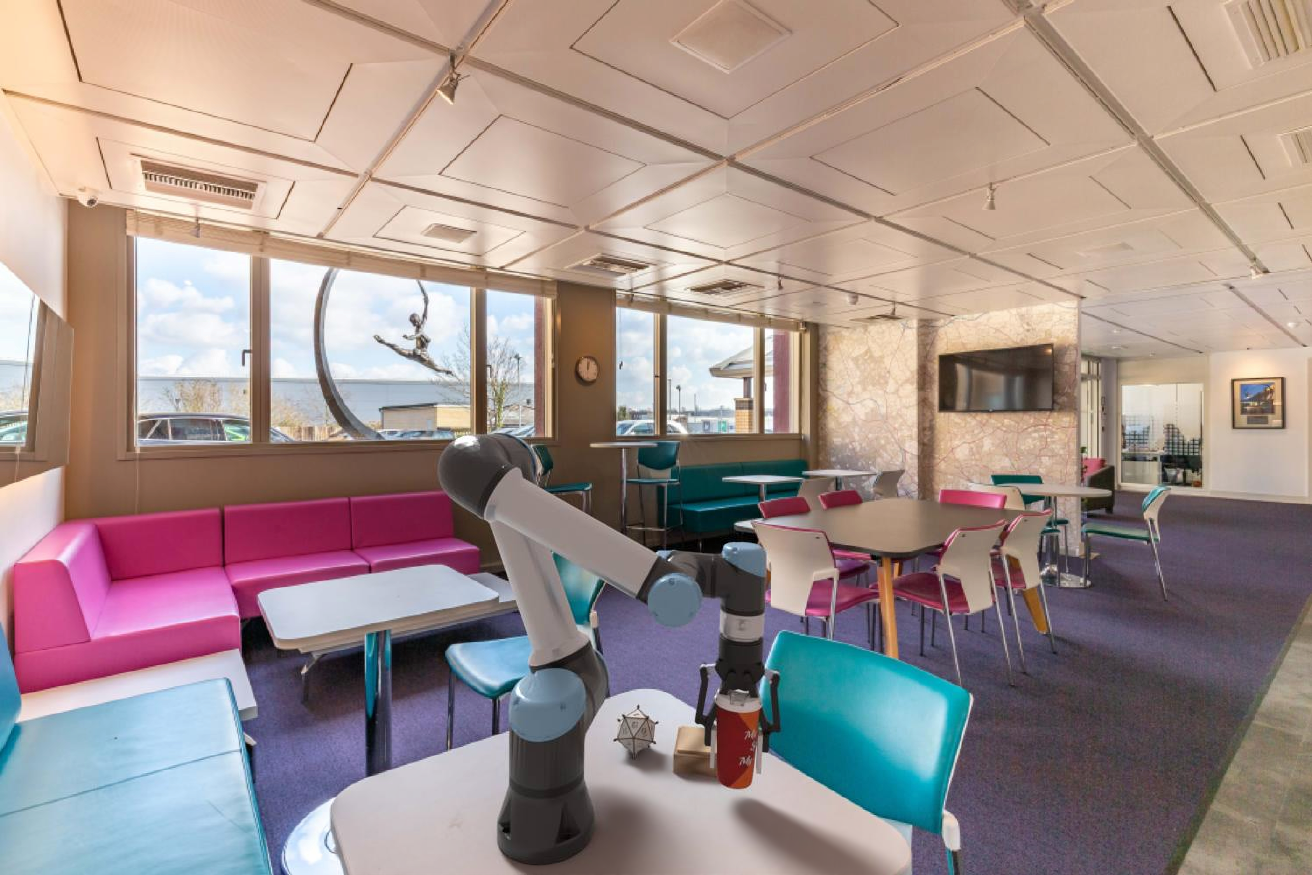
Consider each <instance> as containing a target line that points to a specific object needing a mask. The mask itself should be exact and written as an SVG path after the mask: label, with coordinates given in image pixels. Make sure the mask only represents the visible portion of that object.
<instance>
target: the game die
mask: <svg viewBox="0 0 1312 875" xmlns="http://www.w3.org/2000/svg"><path fill="white" fill-rule="evenodd" d="M621 717H622V719H620V718H617V719H616V721H617V722H618V723H619V725H618V730H617V735H616V738H613V740H612V742H617V741H618V743H620V744H621V745H622V746H623V747H624V748H625V749H627V750H628V751H629V752H630V753H631V754H632V758H633V760H635V759H636V755H637V754H638V753H639V752H641V751H642V750H644V749H645V748H647V749H651V745H652V744H653V745H657V742H656V741H655V740H654V738H655V730H656V725H658V724H659V723H660V721H658V720H657V721H654V720H653V719H652V718H650V716H649V715H647V714H645V713H644V712H643V711H642V710H641V709H640V704H639V703H638V704H637V706H636V709H635V710H633V711H631V712H630V713H629V714H627V715H626V714H625V713H624V714H621Z"/></svg>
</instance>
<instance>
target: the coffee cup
mask: <svg viewBox="0 0 1312 875" xmlns="http://www.w3.org/2000/svg"><path fill="white" fill-rule="evenodd" d="M716 698H717V700H716ZM713 701H715V703H716V704H717V717H716V719H715V720H716V722H715V723H716V731H717V776H716V777H717V781H718V782H719V783H720V784H721V785H722V786H724V787H726V788H728V789H732V790H744V789H747V788H749V787H750V786H751V785H752V784H753V777H754V771H755V770H754V769H755V764H756V761H755V760H756V755H757V735H758V728H759V725H760V723H759V720H758V719H759V710H760V708H761V707H762V705H763V704H764V702H763V700H762V698H761V694H760V692H759V691H758V698H751V697H750V694H749V691H748V692H746V691H742V690H730V689H729V692H728V694H727V695H723V694H719V688H718V689H717V691H716V694H715V695H714V697H713ZM760 703H761V705H760ZM763 706H764V705H763Z"/></svg>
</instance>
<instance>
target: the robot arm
mask: <svg viewBox="0 0 1312 875" xmlns="http://www.w3.org/2000/svg"><path fill="white" fill-rule="evenodd" d="M437 463H438V465H437V477H438V481H439V483H440V486H441V488H442V490H443V491H444V493H445V494H446V495H447V496H448V497H449V498H450V499H451V500H453V502H455V503H456V504H458V505H459V506H461V507H462V508H464V509H465V510H467V511H469V512H471V513H472V514H474V515H476V516H477V517H478V518H479V519H482V520H484V521H486V522H488V524H489V525H490V529H491V531H492V534H493V537H494V540H495V544H496V546H497V550H498V552H499V554H500V558H501V560H502V564H503V567H504V570H505V572H506V575H507V579H508V581H509V585H510V587H511V590H512V593H513V597H514V599H515V602H516V606H517V608H518V611H519V613H520V616H521V619H522V622H523V625H524V627H525V630H526V634H527V636H528V640H529V642H530V645H531V653H530V655H529V657H528V660H527V665H528V667H529V670H530V673H528V674H527V675H526V676H524V677H522V678H520V679H519V681H518V682H517V683H516V684H515V686H514V687H513V689H512V690H511V694H510V697H509V698H510V699H509V705H508V712H507V715H508V718H507V719H508V774H509V775H508V787H507V790H506V793H505V796H504V799H503V801H502V806H501V808H500V811H499V814H498V817H497V821H496V822H497V823H496V840H497V845H498V847H499V848H500V851H502V853H504V854H505V855H506V857H509V858H510V859H512V860H515V861H517V862H520V863H524V864H529V865H530V864H531V865H546V864H553V863H557V862H561V861H563V860H566V859H569V858H571V857H572V856H575V855H576V854H577V853H580V852H581V851H582V850H583V849H584V848H585V847H587V845H588V844H589V843H590V842H591V840H592V839H593V836H594V833H595V827H596V826H595V825H596V824H595V823H596V820H595V817H596V815H595V807H594V804H593V801H592V798H591V795H590V793H589V789H588V786H587V782H586V781H585V743H586V741H585V740H586V735H587V733H588V731H589V729H590V727H591V725H592V723H593V721H594V720H595V718H596V716H597V714H598V712H599V710H600V709H601V707H602V706H603V704H604V703H605V700H606V698H607V695H608V692H609V687H610V682H611V674H610V673H611V672H610V669H609V665H608V662H607V660H606V659H605V657H604V655H603V654H602V653H601V652H600V651H599V650H597V649H595V648H594V646H593V644H592V643H593V642H592V641H591V638H590V635H588V634H587V633H584V632H582V631H580V630H579V629H578V627H577V626H578V625H577V623H576V621H575V618H574V614H573V612H572V609H571V606H570V603H569V600H568V597H567V594H566V591H565V589H564V586H563V583H562V580H561V577H560V574H559V571H558V568H557V565H556V562H555V560H554V556H553V553H555V554H556V555H558V556H560V557H561V558H563V559H566V560H567V561H569V562H571V563H572V564H574V565H576V566H578V568H580V569H582V570H584V571H586V572H587V573H589V574H591V575H593V576H595V577H597V578H598V579H600V580H602V581H604V582H605V583H607V584H609V585H611V586H613V587H614V588H616V589H617V590H619V591H621V592H623V593H624V594H626V595H628V596H629V597H631V598H633V599H635V600H637V601H638V602H639V603H641V604H643V605H645V606H646V607H647V608H648V611H649V613H650V614H651V616H652V617H653V619H654V620H655V621H656V622H657V623H658V624H660V625H661V626H664V627H667V628H672V629H673V628H681V627H684V626H686V625H688V624H690V623H691V621H693V619H694V618H695V617H696V615H697V614H698V612H699V610H700V609H701V607H702V601H703V599H711V600H712V599H714V600H715V599H717V600H718V599H719V600H720V607H719V610H720V611H719V632H720V634H719V636H718V650H717V651H718V652H717V653H718V654H717V659H716V661H715V663H709V664H708V663H707V662H704V661H703V662H701V663H700V667H699V676H700V687H699V693H698V698H697V704H696V710H695V716H694V723H695V724H696V725H701V726H703V728H705V737H704V744H705V746H710V747H711V752H710V768H714V765H715V745H716V722H715V720H716V717H717V704H716V703H715V701H714V700H713V701H712V704H711V705H710V708H709V710H708V713H707V714H704V711H705V710H704V708H705V704H706V699H707V692H708V687H709V681H710V679H711V678H713V675H714V672H716V674H717V675H718V677H719V678H720V680H721V683H720V685H719V687H718V689H719V694H723V695H727V694H728V692H729V689H730V690H742V691H746V692H748V691H749V694H750V697H751V698H758V692H759V691H758V685H757V684H758V683H759V682H760V681H761V680H762V678H763V677H765V680H766V683H767V684H769V691H770V692H769V695H770V705H771V715H772V716H771V717H772V721H769V720H768V718H767V715H766V711H765V709H764V705H762V707H761V708H760V710H759V719H758V720H759V725H760V727H758V735H757V744H756V755H755V760H756V761H755V766H756V767H755V769H756V774H757V775H762V762H763V761H762V760H763V758H762V757H763V753H765V754H768V753H769V751H770V750H769V749H770V737H771V734H774V733H776V734H777V733H780V732H781V731H782V726H781V717H780V703H779V693H778V690H779V689H778V688H779V685H780V682H781V675H780V671H779V669H777V668H775V669H774V668H773V670H772V669H769V668H765V665H764V663H763V654H764V638H763V636H764V634H765V633H764V632H765V615H766V614H765V610H766V609H765V608H766V590H767V576H768V574H767V567H768V566H767V559H768V558H767V556H768V555H767V552H766V549H765V548H764V547H763V546H761V545H760V544H757V543H754V542H753V543H752V542H744V541H741V542H739V541H738V542H735V541H733V542H728V543H726V544H724V545H723V548H722V551H721V553H706V552H704V553H702V552H694V551H693V552H692V551H683V550H682V551H681V550H677V549H672V550H657V552H654V551H653V550H651V549H650V548H648V547H646V546H644V545H642V544H640V543H638V542H637V541H635V540H633V539H631V538H630V537H628V536H627V535H625V534H623V533H621V532H619V531H618V530H615V529H614V528H612V527H611V526H609V525H607V524H605V523H603V522H602V521H600V520H598V519H597V518H594V517H593V516H591V515H590V514H588V513H586V512H584V511H583V510H580V509H578V508H577V507H575V506H573V505H571V504H569V503H568V502H566V501H565V500H563V499H561V498H559V497H558V496H555V495H554V494H552V493H550V492H549V491H547V490H545V489H543V488H541V487H540V486H538V483H537V480H536V477H537V474H538V469H539V468H538V467H539V466H538V460H537V456H536V453H535V452H534V450H533V448H532V446H530V444H529V443H528V442H527V441H525V440H524V439H523V438H520V437H518V436H516V435H512V434H510V433H506V432H504V433H503V432H494V433H488V434H487V433H485V434H484V433H483V434H482V433H481V434H478V433H477V434H466V435H463V436H460V437H458V438H456V439H454V440H453V441H451V442H450V443H449V444H448V445H447V446H446V447H445V449H443V452H442V453H441V455H440V457H439V460H438V462H437ZM552 552H553V553H552ZM716 700H717V698H716ZM760 705H761V703H760Z"/></svg>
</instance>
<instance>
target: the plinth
mask: <svg viewBox="0 0 1312 875" xmlns="http://www.w3.org/2000/svg"><path fill="white" fill-rule="evenodd" d="M704 737H705V728H704V727H697V726H686V725H684V726H683V725H681V726H678V729H677V734H676V740H675V743H674V744H675V745H674V748H673V749H674V750H673V756H672V757H673V759H672V760H673V764H672V765H673V766H672V768H673V769H672V773H678V774H686V775H687V774H688V775H689V774H690V775H698V776H708V777H709V776H710V777H718V776H717V731H716V745H715V765H714V768H710V752H711V747H710V746H705V744H704Z"/></svg>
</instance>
